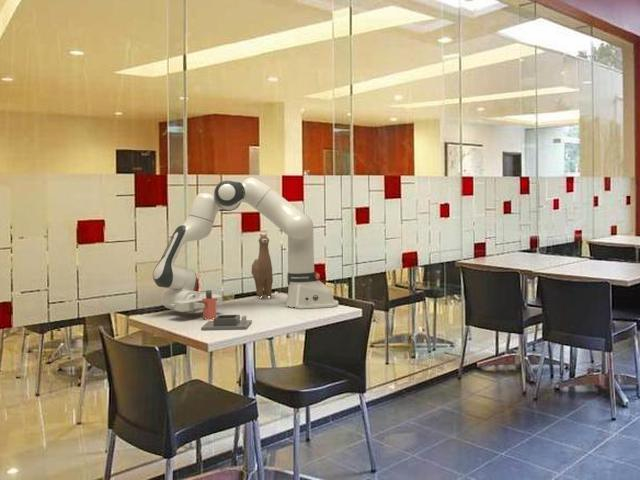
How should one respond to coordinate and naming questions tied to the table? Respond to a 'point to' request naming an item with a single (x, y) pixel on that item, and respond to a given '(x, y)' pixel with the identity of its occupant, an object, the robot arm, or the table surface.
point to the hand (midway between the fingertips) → (210, 304)
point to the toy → (263, 268)
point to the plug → (209, 306)
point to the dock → (227, 323)
